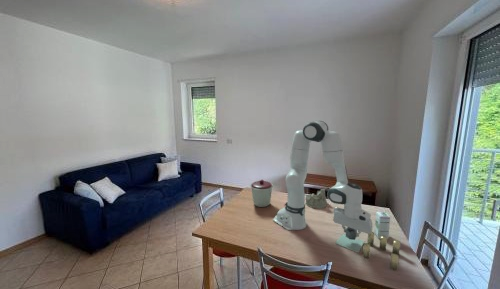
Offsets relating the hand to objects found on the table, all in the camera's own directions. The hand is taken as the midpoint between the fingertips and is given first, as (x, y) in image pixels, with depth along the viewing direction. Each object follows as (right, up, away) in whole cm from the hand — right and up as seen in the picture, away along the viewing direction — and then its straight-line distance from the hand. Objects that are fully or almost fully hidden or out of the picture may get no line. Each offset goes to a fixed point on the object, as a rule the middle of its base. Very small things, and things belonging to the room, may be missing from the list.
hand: (351, 234), depth 120 cm
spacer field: (+11, -7, -9) cm, 16 cm away
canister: (-48, +2, +51) cm, 71 cm away
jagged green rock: (-4, +3, +51) cm, 51 cm away
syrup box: (+21, -4, +7) cm, 23 cm away
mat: (0, -6, +1) cm, 6 cm away
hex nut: (0, -2, 0) cm, 2 cm away
